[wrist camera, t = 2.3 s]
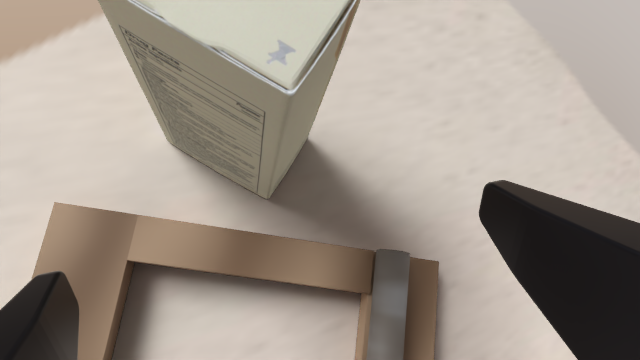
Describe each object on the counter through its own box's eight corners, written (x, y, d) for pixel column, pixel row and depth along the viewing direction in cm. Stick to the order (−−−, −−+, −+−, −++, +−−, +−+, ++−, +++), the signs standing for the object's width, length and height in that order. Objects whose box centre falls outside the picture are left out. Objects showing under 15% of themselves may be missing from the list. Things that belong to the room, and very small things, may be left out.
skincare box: (309, 136, 24) (383, -16, 12) (267, 203, 22) (303, 105, 11) (206, 73, 23) (180, -144, 12) (158, 137, 22) (73, -36, 10)
